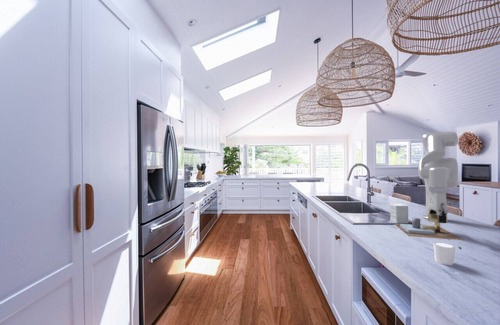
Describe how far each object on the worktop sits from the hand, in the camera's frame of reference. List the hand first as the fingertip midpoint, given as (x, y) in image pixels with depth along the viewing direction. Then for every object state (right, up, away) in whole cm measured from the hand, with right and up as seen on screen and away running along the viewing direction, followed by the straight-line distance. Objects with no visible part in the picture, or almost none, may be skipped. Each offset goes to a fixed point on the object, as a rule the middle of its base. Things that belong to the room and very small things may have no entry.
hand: (437, 220), depth 121 cm
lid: (-9, -6, +3) cm, 12 cm away
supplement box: (-8, -8, +20) cm, 23 cm away
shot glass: (-25, -9, -32) cm, 41 cm away
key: (-1, -6, +1) cm, 6 cm away
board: (-6, -8, +1) cm, 10 cm away
